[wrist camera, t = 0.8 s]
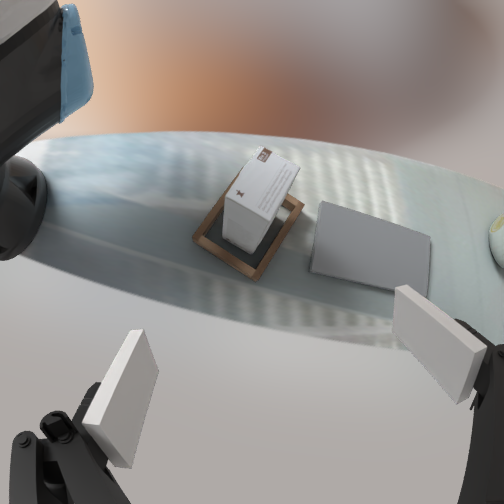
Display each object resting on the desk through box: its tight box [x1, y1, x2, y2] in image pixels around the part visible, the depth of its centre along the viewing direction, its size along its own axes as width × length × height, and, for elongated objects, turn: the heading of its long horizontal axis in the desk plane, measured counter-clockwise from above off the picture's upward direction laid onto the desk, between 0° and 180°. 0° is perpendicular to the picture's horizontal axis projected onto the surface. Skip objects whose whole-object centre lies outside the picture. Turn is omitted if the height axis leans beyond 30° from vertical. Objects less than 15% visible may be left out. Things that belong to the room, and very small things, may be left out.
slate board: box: [309, 201, 430, 297], centre depth 36 cm, size 18×9×1 cm, turn 79°
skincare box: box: [222, 146, 300, 254], centre depth 29 cm, size 6×4×12 cm
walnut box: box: [192, 168, 305, 282], centre depth 34 cm, size 9×11×2 cm
